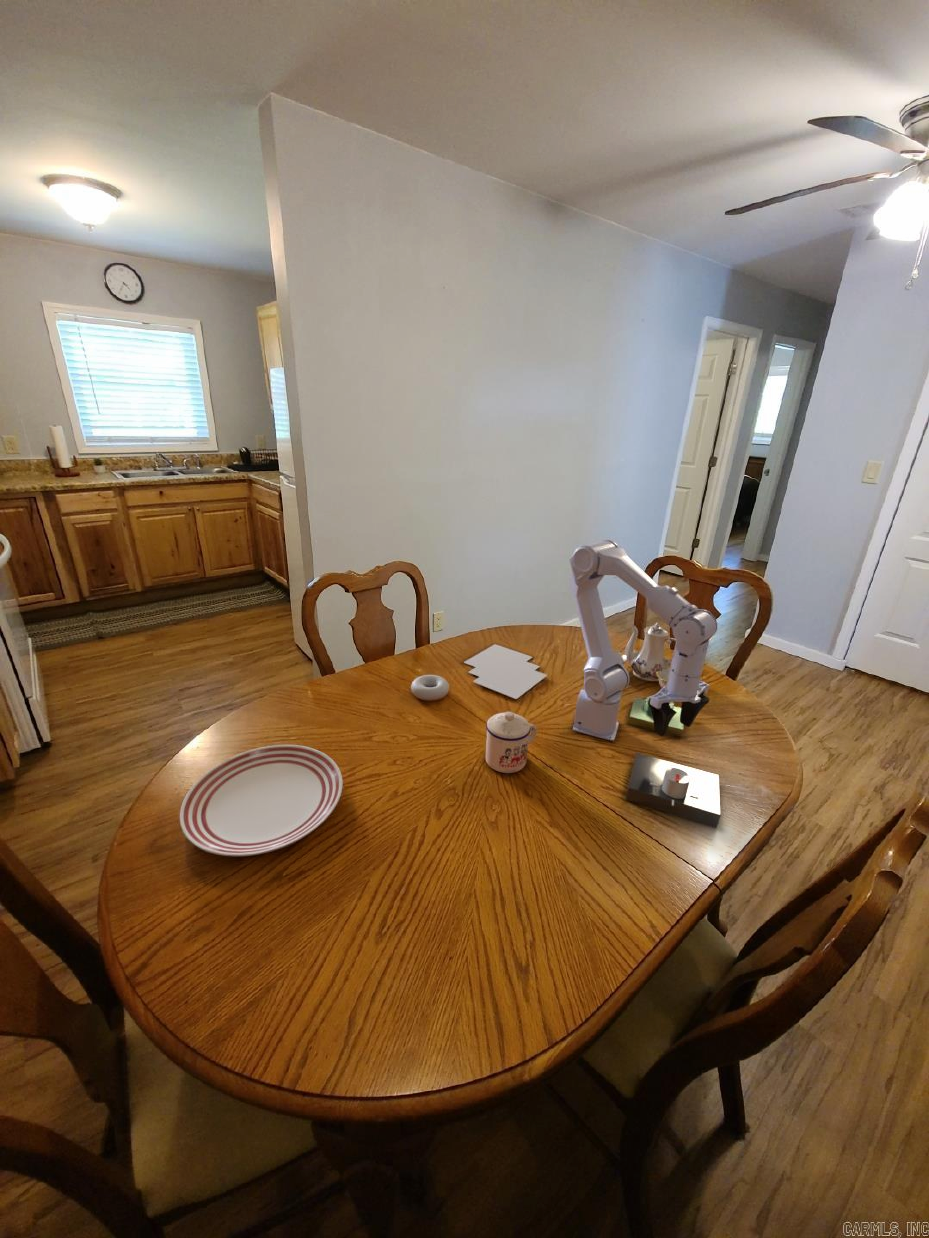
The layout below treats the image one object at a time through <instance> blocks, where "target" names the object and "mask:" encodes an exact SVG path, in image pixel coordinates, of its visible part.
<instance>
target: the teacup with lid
mask: <svg viewBox="0 0 929 1238" xmlns="http://www.w3.org/2000/svg"><path fill="white" fill-rule="evenodd" d="M485 724H486V725H485V729H486V742H485V743H486V744H485V761H486V764H487V765H488V766H489V767H490V768H491V769H492V770H494V771H497V772H499V773H505V774H512V773H517V772H519V771H521V770H523V769H524V767H525V766H526V764H527V758H528V747H529V745H530V744H532V743H533V742H534V740H535V738H536V737H537V733H538V728H537V726H536V725H534V724H533V723H530V722H529V721H528V720H527V719H526V718H525V717H523V716H522V715H520V714H517V713H514V712H513V711H505V712H499V713H495V714H494V715H492V716H490V717H489V718H488V720H487V722H486V723H485Z"/></svg>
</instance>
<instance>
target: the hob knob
mask: <svg viewBox="0 0 929 1238" xmlns="http://www.w3.org/2000/svg"><path fill="white" fill-rule="evenodd" d="M689 783H690V776H689V775H688V774H687V773H686V772H685V771H683V770H681V769H678V768H668V769H667V770H666V771H665V775H664V779H663V784H662V790H663V792H664V793H665V794H666V795H668V796H670V797H672V798H676V799H682V798H684V797H685V796H686V794H687V790H688V787H689Z"/></svg>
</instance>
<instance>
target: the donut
mask: <svg viewBox="0 0 929 1238" xmlns="http://www.w3.org/2000/svg"><path fill="white" fill-rule="evenodd" d="M410 691H411V693H412V695H413V696H414V697H415V698H417V699H419V700H422V701H428V702H432V701H438V700H441V699H443V698H445V697H446V696H447V695H448V693H449V692H450V684H449V682H448V680H446V678H444V677H442V676H440V675H436V674H424V675H420V676H418V677H415V679H414V680H413V681H412V682H411V685H410Z"/></svg>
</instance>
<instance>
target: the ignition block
mask: <svg viewBox="0 0 929 1238" xmlns="http://www.w3.org/2000/svg"><path fill="white" fill-rule="evenodd" d="M653 695H654V694H653ZM653 695H652V694H651V695H648V696H646V697H645V698H640V697H637V696H634V697H633V700H632V701H633V702H632V706H631V709H630V713H629V717H628V722H627V723H628V725H630V726H634V727H638V728H642V729H646V730H650V731H654V721H653V715H652V712H651V709H650V707H649V705H648V700H649V699H650V698H651V696H653ZM669 706H670V708H671V709H673V710H674V711H676V712H677V713H676V714H675V715H674V716H673V718H672V719H671V721H670V723H669V726H668V729H667V732H666V734H665V735H670V736H674V737H678V738H682V737H683V733H684V726H685V725H684V724H682V723H681V722H680V714H681V707H680V706H675V702H670V703H669Z"/></svg>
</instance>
